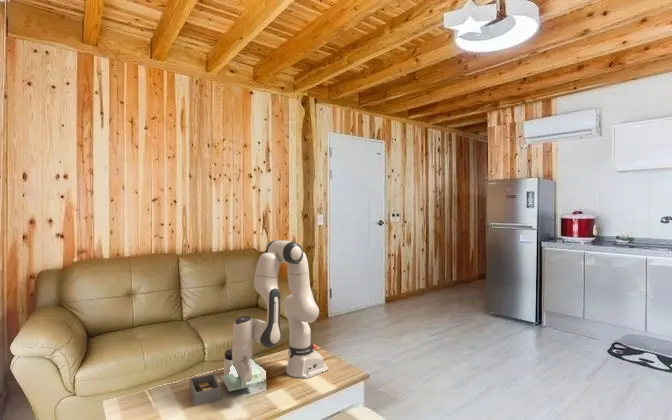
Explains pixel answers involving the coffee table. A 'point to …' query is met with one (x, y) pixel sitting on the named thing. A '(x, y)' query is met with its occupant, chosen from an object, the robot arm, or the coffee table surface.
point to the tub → (205, 395)
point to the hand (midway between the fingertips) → (241, 383)
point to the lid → (234, 382)
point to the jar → (227, 362)
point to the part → (202, 386)
